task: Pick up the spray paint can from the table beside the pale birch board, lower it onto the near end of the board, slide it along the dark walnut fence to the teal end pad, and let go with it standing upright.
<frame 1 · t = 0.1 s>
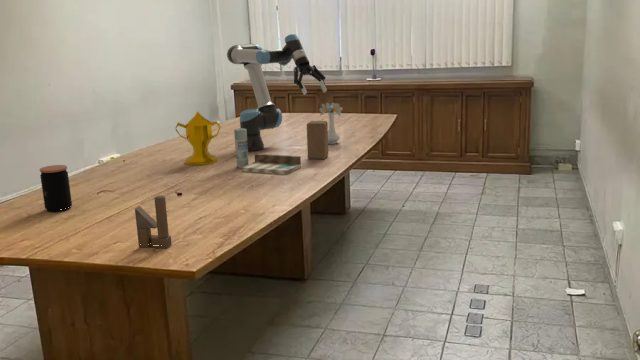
hand: (315, 92, 347), 36 cm above the table, tool tilted 35°, fingers open, 13 cm apart
wooden block: (318, 157, 355), on the table
flower vase: (331, 143, 396), on the table
trophy cup: (201, 162, 354), on the table
coffee jar: (59, 209, 271), on the table
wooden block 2: (155, 247, 222), on the table
spray paint can: (242, 166, 339), on the table
marking board: (271, 169, 330), on the table
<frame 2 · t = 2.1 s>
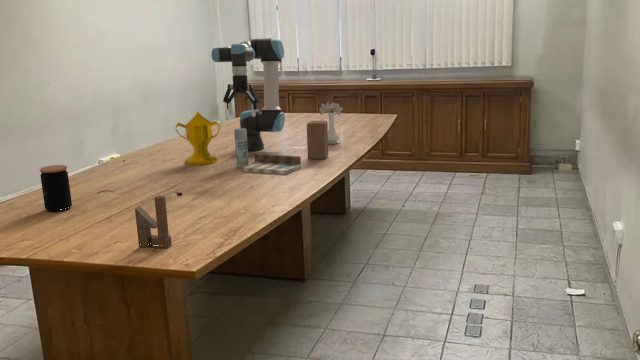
hand: (242, 116, 332), 27 cm above the table, tool pointing down, fingers open, 13 cm apart
nothing on the table moved.
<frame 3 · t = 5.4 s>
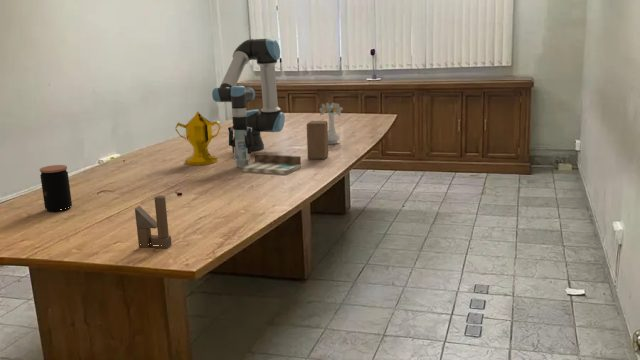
hand: (242, 159, 338), 4 cm above the table, tool pointing down, fingers closed on spray paint can, 6 cm apart
spray paint can: (242, 166, 339), on the table, touching gripper
everything else where it was.
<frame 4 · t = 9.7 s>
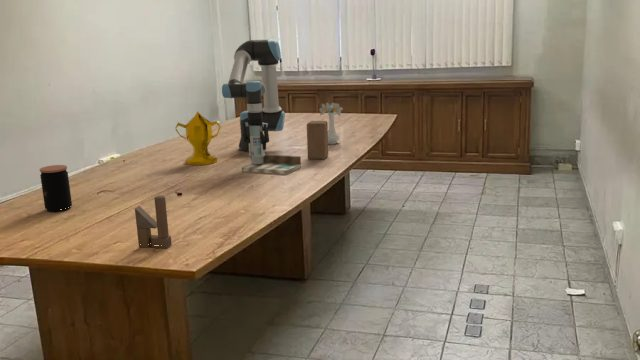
hand: (257, 155, 332), 7 cm above the table, tool pointing down, fingers closed on spray paint can, 6 cm apart
spray paint can: (257, 163, 333), point 3 cm above the table, touching gripper
everything else where it was.
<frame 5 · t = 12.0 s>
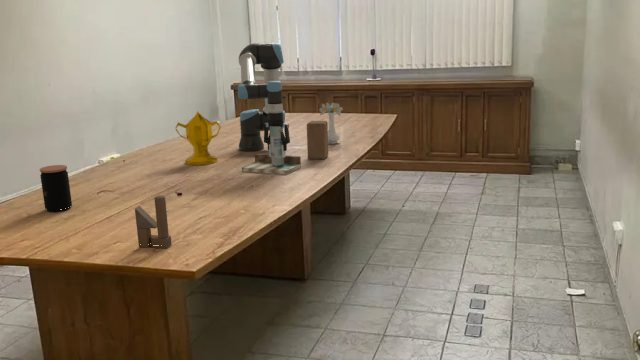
hand: (277, 156, 328), 7 cm above the table, tool pointing down, fingers closed on spray paint can, 6 cm apart
spray paint can: (277, 164, 329), point 3 cm above the table, touching gripper
everything else where it was.
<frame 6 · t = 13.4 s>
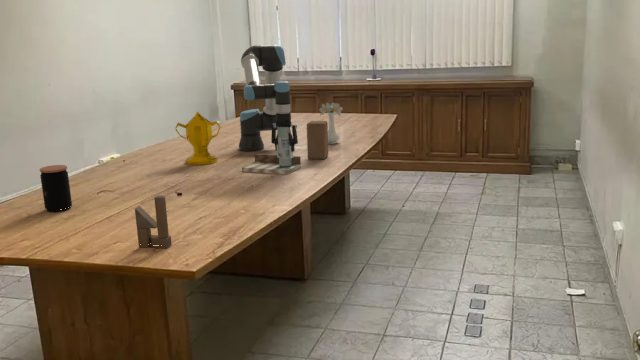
hand: (285, 157, 326), 7 cm above the table, tool pointing down, fingers closed on spray paint can, 6 cm apart
spray paint can: (285, 165, 327), point 2 cm above the table, touching gripper
everything else where it was.
when the fingers open (6 cm above the table, at t = 14.3 s): spray paint can stays where it is, resting on marking board.
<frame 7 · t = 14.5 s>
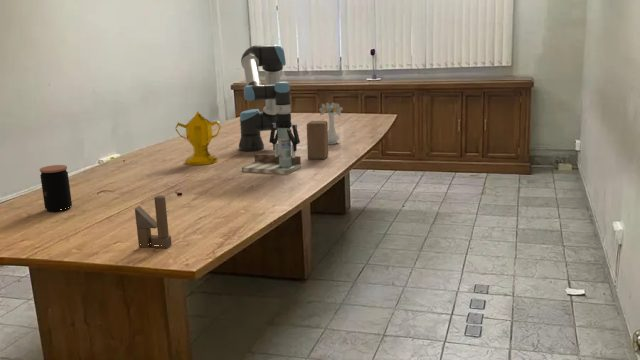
hand: (285, 156, 326), 7 cm above the table, tool pointing down, fingers open, 9 cm apart
spray paint can: (285, 166, 327), point 2 cm above the table, touching marking board
everything else where it was.
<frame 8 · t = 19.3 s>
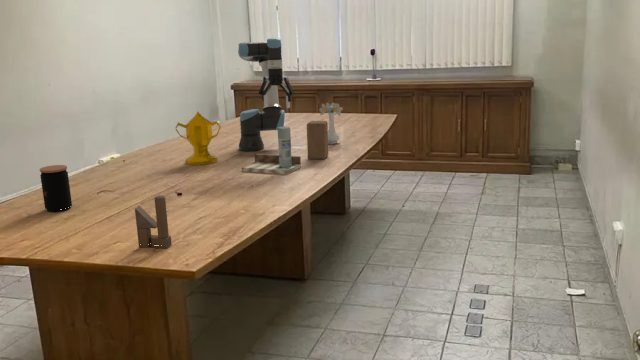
hand: (277, 107, 347), 29 cm above the table, tool pointing down, fingers open, 13 cm apart
nothing on the table moved.
at the end: spray paint can 0.5 cm from the target spot on the marking board, point 1.9 cm above the marking board's base; spray paint can tilted 0°; the gripper is holding nothing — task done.
